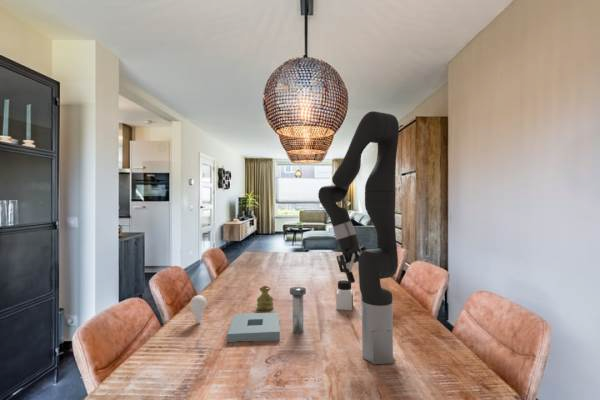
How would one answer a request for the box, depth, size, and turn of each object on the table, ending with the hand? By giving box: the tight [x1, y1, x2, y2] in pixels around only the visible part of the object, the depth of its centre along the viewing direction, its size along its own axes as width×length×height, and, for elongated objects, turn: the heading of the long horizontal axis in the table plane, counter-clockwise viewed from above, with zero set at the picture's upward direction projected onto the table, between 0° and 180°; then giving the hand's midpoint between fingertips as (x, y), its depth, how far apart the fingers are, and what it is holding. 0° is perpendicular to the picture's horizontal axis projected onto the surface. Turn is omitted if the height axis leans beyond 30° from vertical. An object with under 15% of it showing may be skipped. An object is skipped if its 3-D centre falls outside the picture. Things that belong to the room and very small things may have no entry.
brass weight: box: [256, 285, 274, 312], centre depth 135 cm, size 7×7×10 cm
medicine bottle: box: [335, 279, 354, 311], centre depth 135 cm, size 7×7×12 cm
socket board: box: [226, 312, 281, 343], centre depth 112 cm, size 18×18×3 cm
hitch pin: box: [289, 286, 307, 334], centre depth 111 cm, size 6×6×16 cm
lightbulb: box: [189, 294, 207, 324], centre depth 119 cm, size 6×6×11 cm
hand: (360, 278), depth 108 cm, fingers open, 8 cm apart
